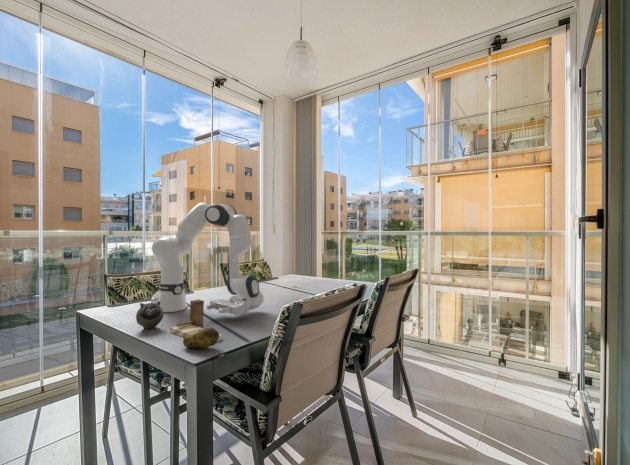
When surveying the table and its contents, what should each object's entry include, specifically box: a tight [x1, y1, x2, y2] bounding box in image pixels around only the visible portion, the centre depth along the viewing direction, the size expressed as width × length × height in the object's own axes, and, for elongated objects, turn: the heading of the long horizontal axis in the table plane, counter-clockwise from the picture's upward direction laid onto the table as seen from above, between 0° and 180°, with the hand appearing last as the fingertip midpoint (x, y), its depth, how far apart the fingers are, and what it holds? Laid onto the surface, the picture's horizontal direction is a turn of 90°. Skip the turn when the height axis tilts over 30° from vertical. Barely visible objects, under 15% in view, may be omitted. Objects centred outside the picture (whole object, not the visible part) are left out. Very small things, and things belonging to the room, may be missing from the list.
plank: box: [169, 324, 223, 342], centre depth 131 cm, size 24×8×2 cm, turn 55°
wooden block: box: [176, 299, 205, 328], centre depth 138 cm, size 4×11×12 cm, turn 145°
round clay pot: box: [135, 301, 164, 333], centre depth 136 cm, size 10×12×10 cm
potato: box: [182, 327, 220, 350], centre depth 117 cm, size 8×13×8 cm, turn 61°
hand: (213, 309), depth 148 cm, fingers open, 8 cm apart
